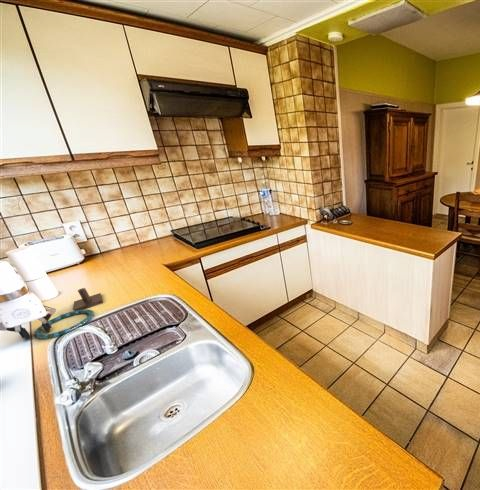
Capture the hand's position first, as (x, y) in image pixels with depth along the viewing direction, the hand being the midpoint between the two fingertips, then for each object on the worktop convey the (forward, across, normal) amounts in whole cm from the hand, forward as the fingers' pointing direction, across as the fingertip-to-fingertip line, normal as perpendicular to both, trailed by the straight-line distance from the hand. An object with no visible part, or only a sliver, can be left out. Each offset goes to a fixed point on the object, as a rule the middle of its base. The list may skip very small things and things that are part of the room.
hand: (38, 333), depth 102 cm
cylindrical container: (+1, 0, +39) cm, 39 cm away
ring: (0, +8, 0) cm, 8 cm away
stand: (0, +14, +14) cm, 20 cm away
